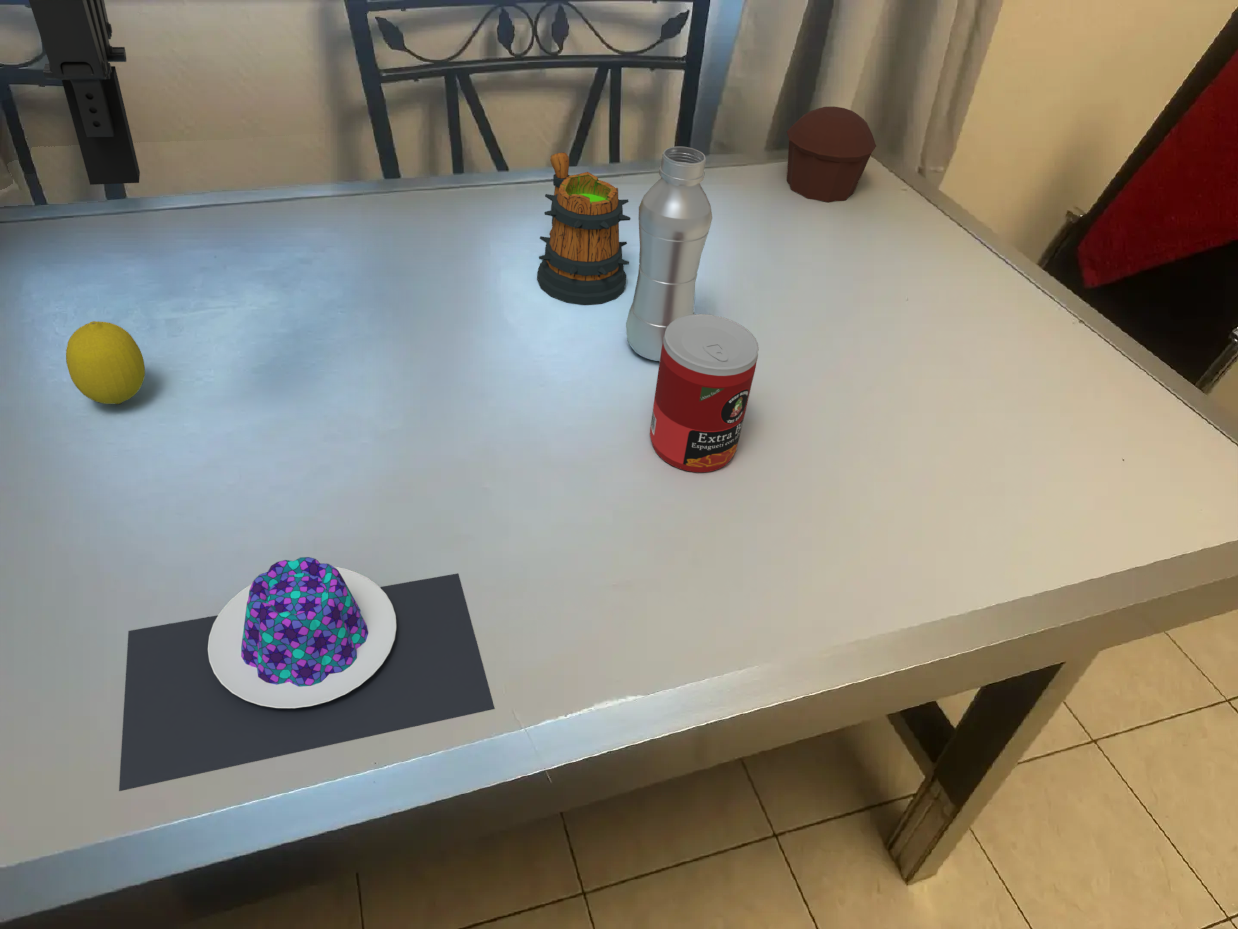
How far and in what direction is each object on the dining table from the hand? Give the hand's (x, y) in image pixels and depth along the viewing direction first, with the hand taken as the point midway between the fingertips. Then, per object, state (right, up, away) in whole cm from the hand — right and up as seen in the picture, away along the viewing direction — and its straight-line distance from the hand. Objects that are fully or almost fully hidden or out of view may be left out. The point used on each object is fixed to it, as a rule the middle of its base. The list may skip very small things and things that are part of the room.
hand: (115, 177), depth 59 cm
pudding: (+10, -29, +6) cm, 32 cm away
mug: (+26, +3, +45) cm, 52 cm away
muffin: (+58, +19, +68) cm, 91 cm away
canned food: (+37, -16, +25) cm, 48 cm away
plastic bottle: (+35, -7, +35) cm, 50 cm away
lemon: (-11, -13, +22) cm, 28 cm away
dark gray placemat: (+11, -31, +4) cm, 33 cm away
